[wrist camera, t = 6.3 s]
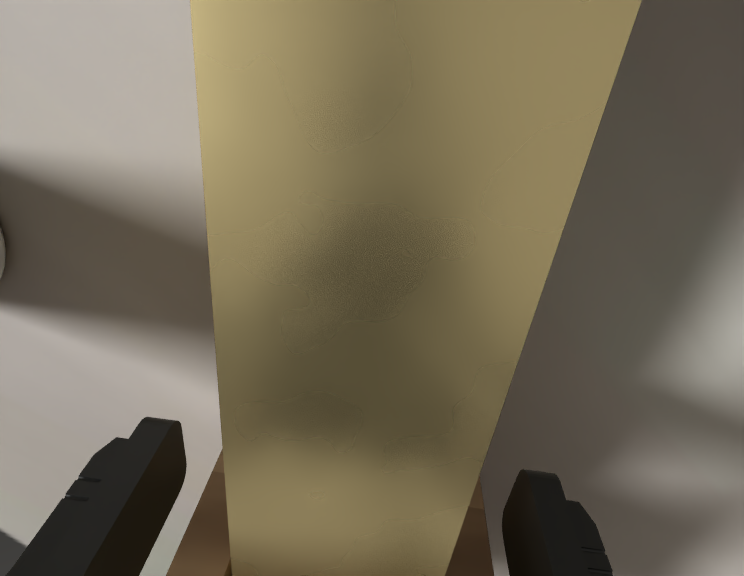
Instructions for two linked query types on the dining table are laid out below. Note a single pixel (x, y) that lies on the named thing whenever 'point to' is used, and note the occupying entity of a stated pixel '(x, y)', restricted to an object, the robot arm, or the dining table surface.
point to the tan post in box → (381, 253)
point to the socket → (212, 547)
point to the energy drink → (2, 253)
